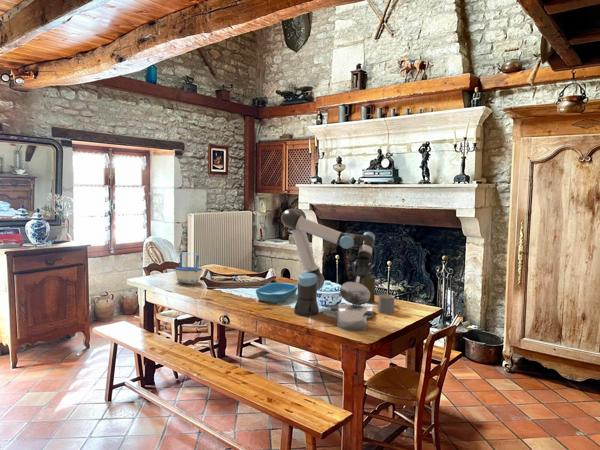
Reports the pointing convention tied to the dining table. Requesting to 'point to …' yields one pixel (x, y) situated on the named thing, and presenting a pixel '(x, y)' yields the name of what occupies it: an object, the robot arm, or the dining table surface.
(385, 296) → the coffee mug
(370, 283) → the canister
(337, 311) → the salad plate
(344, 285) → the lid
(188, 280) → the basket
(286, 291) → the casserole dish
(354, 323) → the pressure cooker pot
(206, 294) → the dining table surface
